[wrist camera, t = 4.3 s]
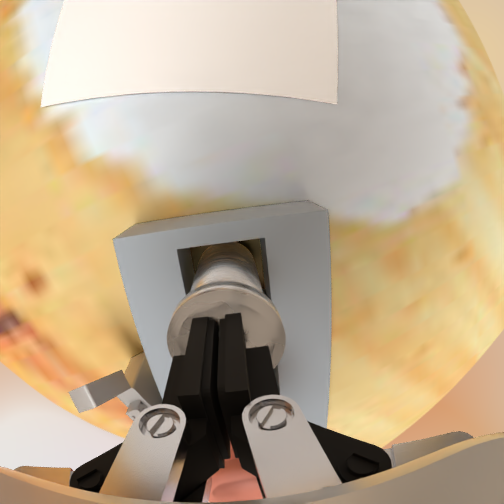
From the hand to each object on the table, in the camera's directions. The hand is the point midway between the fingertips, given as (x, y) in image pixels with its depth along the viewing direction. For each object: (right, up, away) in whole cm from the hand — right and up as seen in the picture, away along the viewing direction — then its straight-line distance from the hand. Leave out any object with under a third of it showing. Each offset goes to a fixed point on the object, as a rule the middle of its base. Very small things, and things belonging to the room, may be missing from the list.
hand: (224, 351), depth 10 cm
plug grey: (0, +3, +8) cm, 8 cm away
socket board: (0, -3, +11) cm, 11 cm away
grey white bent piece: (-7, -5, +11) cm, 14 cm away
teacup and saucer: (-3, +23, +3) cm, 23 cm away
